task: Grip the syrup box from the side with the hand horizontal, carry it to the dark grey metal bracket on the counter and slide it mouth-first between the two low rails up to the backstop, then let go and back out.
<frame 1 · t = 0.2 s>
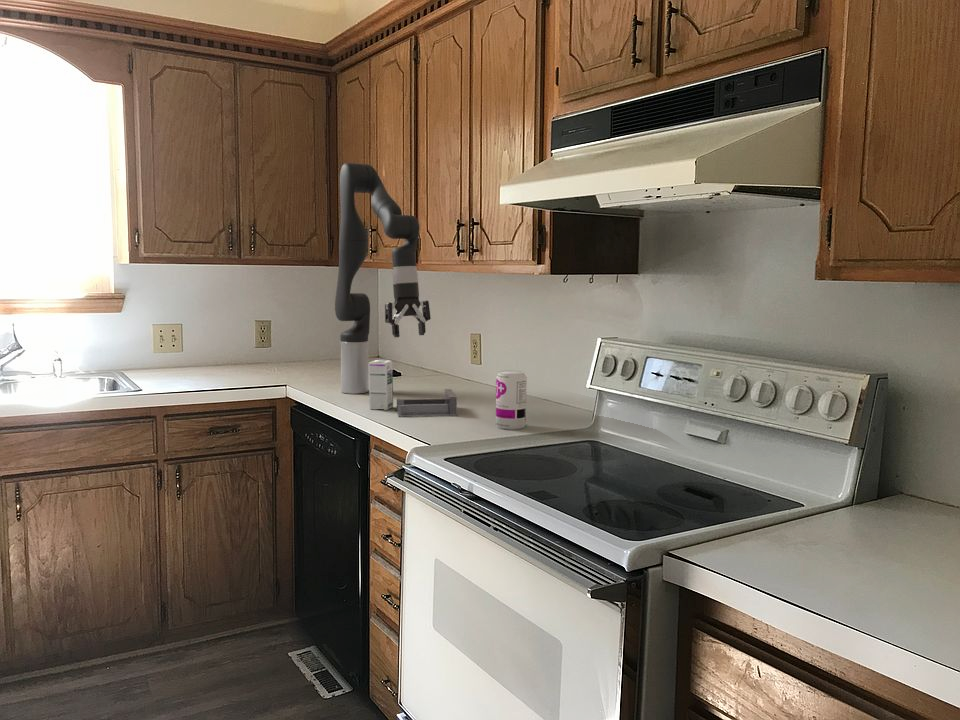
hand: (409, 336, 243), 22 cm above the table, tool pointing down, fingers open, 8 cm apart
syrup box: (381, 409, 245), on the table
bracket: (426, 411, 240), on the table
supplement can: (510, 427, 220), on the table
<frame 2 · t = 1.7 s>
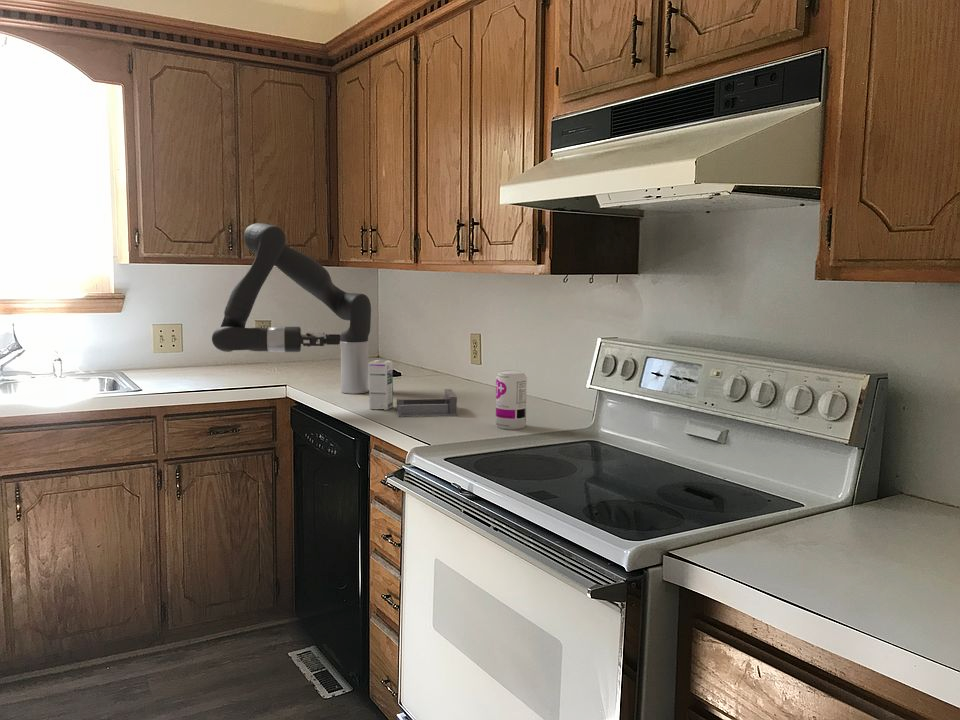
hand: (340, 339, 241), 21 cm above the table, tool horizontal, fingers open, 8 cm apart
nothing on the table moved.
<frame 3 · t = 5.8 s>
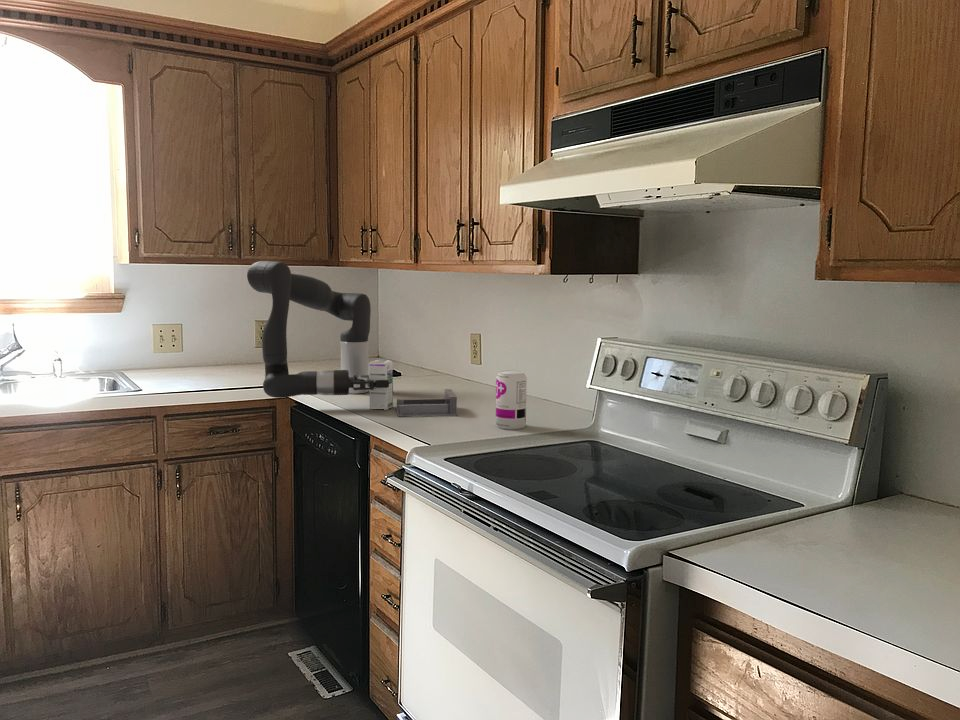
hand: (388, 381, 244), 8 cm above the table, tool horizontal, fingers closed on syrup box, 7 cm apart
syrup box: (381, 408, 245), on the table, touching gripper
everything else where it was.
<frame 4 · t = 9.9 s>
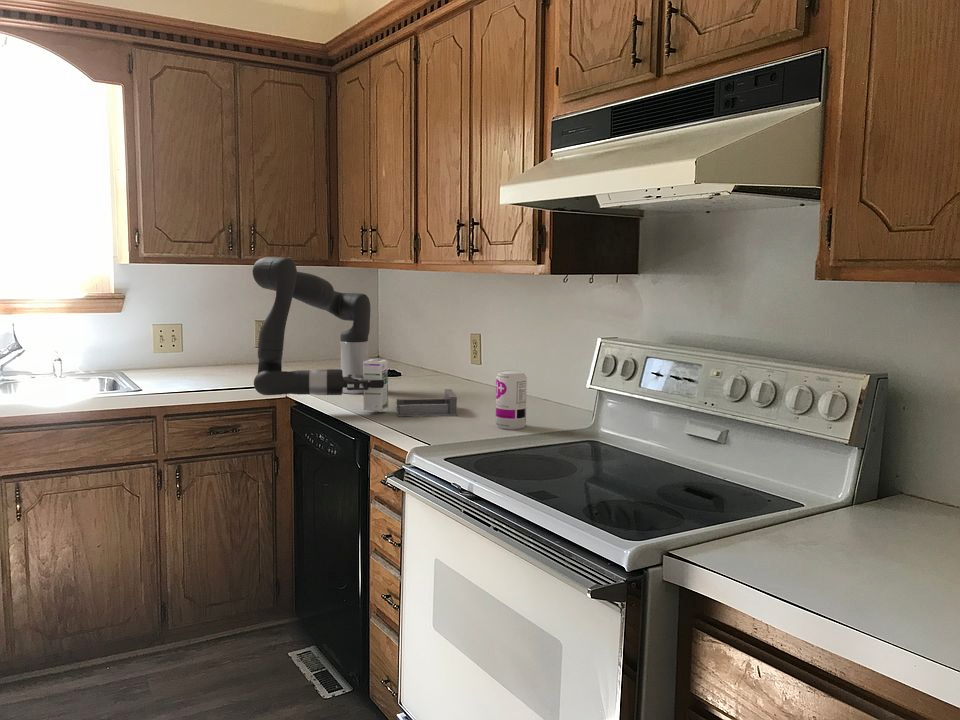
hand: (383, 381, 237), 9 cm above the table, tool horizontal, fingers closed on syrup box, 7 cm apart
syrup box: (375, 409, 238), point 1 cm above the table, touching gripper
everything else where it was.
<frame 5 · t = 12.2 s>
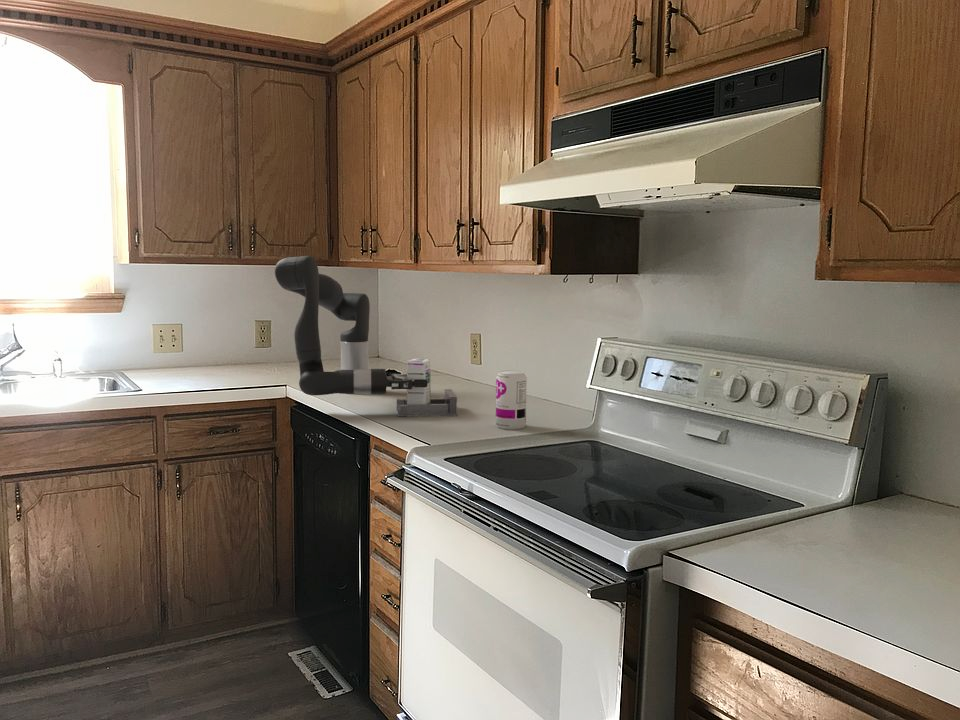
hand: (426, 381, 239), 9 cm above the table, tool horizontal, fingers closed on syrup box, 7 cm apart
syrup box: (418, 408, 240), point 1 cm above the table, touching gripper
everything else where it was.
when the fingers open (9 cm above the table, at t = 14.1 s): syrup box stays where it is, resting on bracket.
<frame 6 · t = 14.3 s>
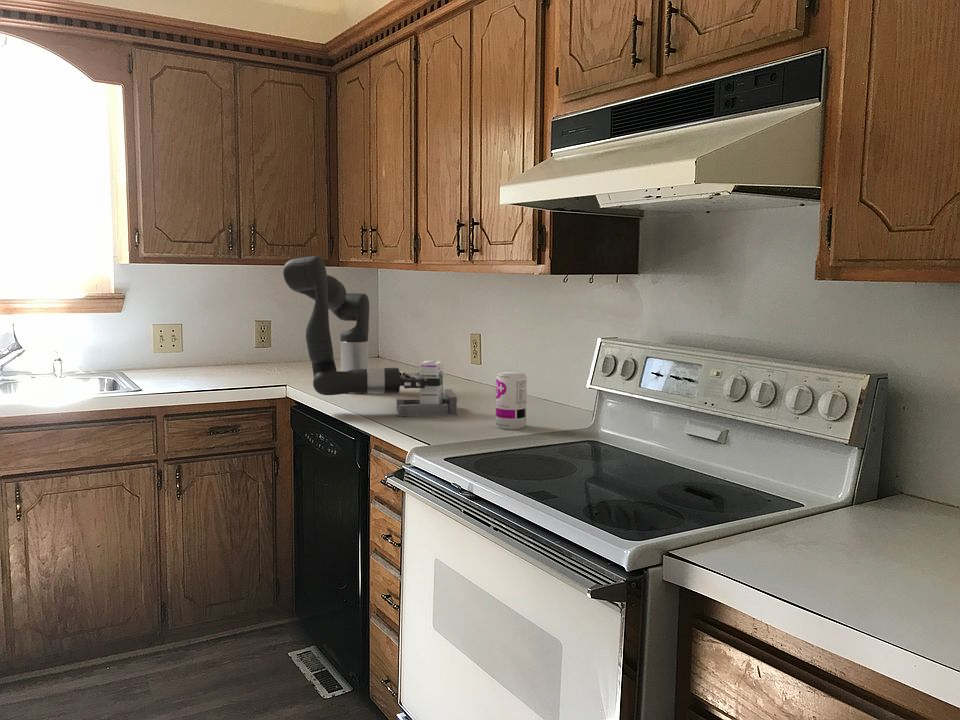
hand: (438, 379, 239), 9 cm above the table, tool horizontal, fingers open, 8 cm apart
syrup box: (431, 410, 240), resting on bracket
everything else where it was.
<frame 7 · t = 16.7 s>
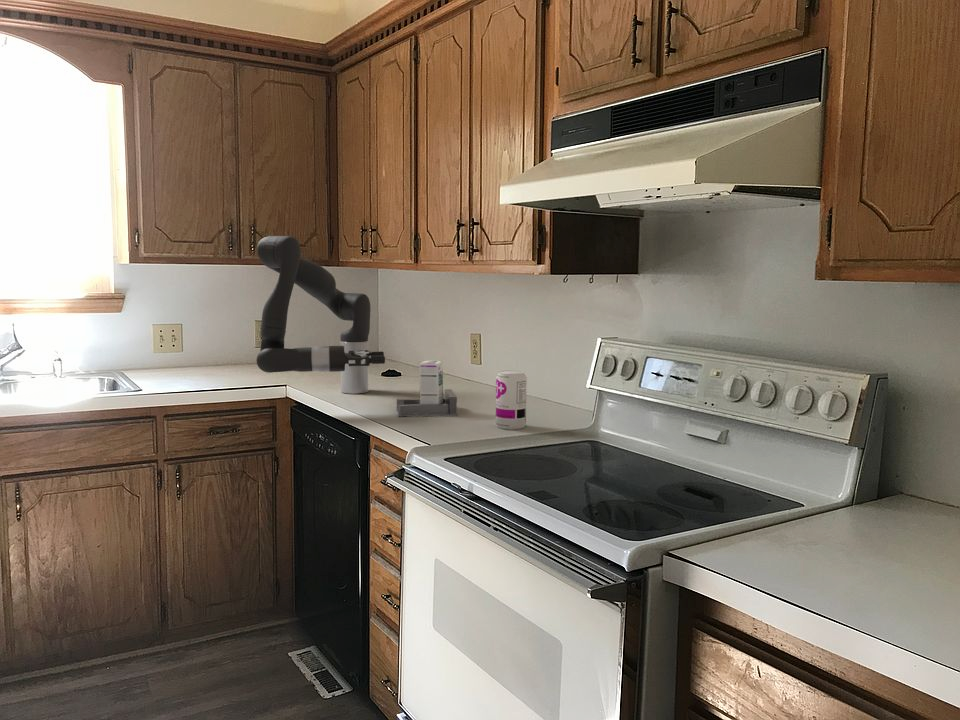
hand: (384, 357, 238), 16 cm above the table, tool horizontal, fingers open, 8 cm apart
nothing on the table moved.
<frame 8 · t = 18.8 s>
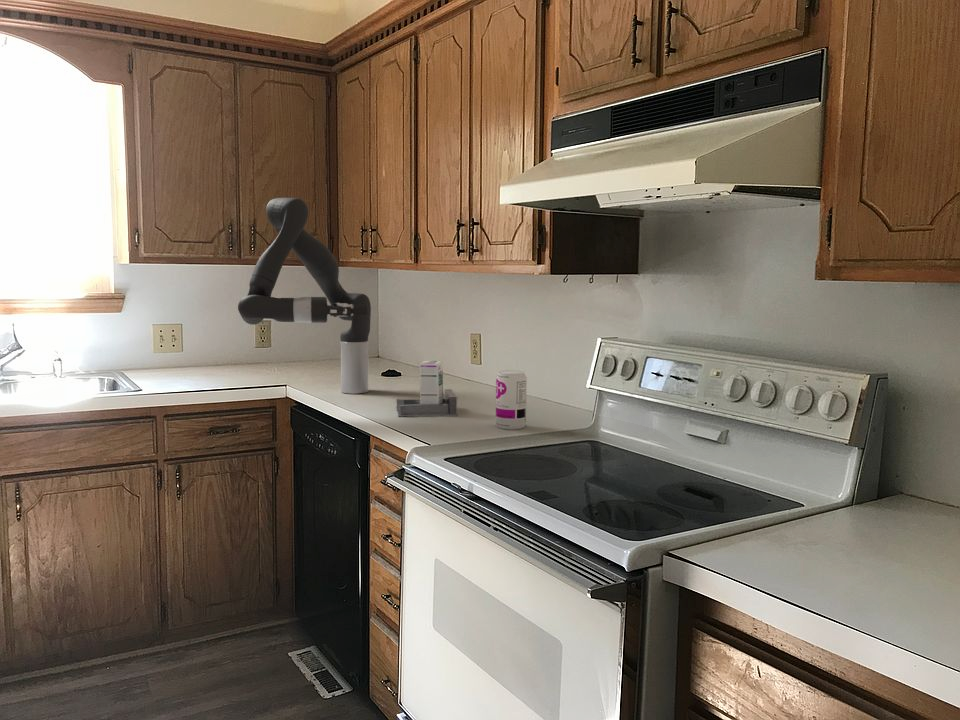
hand: (366, 309, 238), 30 cm above the table, tool horizontal, fingers open, 8 cm apart
nothing on the table moved.
at the end: syrup box inside the target area on the bracket (1.4 cm from its centre), point 0.3 cm above the bracket's base; syrup box tilted 0°; the gripper is holding nothing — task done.
